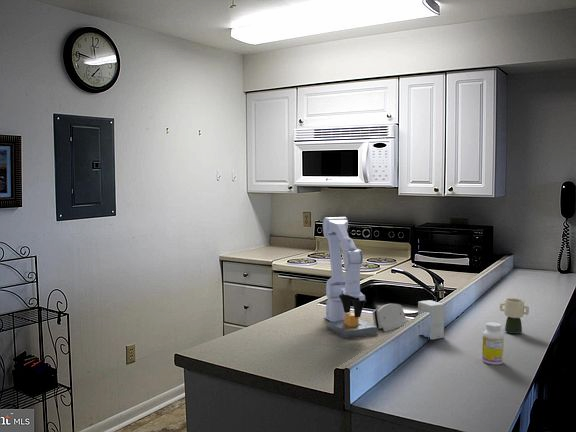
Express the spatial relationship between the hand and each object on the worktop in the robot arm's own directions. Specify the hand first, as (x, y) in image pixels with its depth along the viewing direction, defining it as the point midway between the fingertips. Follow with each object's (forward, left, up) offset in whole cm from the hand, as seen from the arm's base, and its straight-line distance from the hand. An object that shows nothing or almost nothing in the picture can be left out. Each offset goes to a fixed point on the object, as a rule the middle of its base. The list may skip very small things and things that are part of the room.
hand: (352, 314), depth 218 cm
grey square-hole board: (0, 0, -7) cm, 7 cm away
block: (0, 0, -7) cm, 7 cm away
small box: (+18, +24, -7) cm, 31 cm away
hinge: (0, +19, -7) cm, 20 cm away
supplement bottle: (+50, +23, -7) cm, 56 cm away
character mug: (+29, +56, -7) cm, 63 cm away
